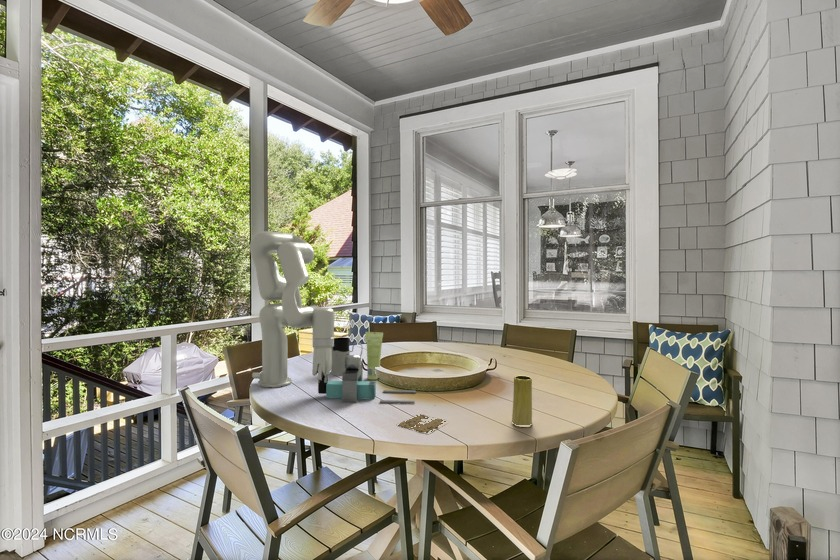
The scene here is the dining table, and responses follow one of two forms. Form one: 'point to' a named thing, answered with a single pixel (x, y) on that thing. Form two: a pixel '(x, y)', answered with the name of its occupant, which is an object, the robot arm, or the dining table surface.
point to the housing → (351, 378)
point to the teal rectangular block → (364, 389)
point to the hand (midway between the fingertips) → (323, 392)
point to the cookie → (422, 428)
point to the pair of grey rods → (397, 400)
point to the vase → (522, 400)
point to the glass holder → (340, 355)
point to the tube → (373, 352)
